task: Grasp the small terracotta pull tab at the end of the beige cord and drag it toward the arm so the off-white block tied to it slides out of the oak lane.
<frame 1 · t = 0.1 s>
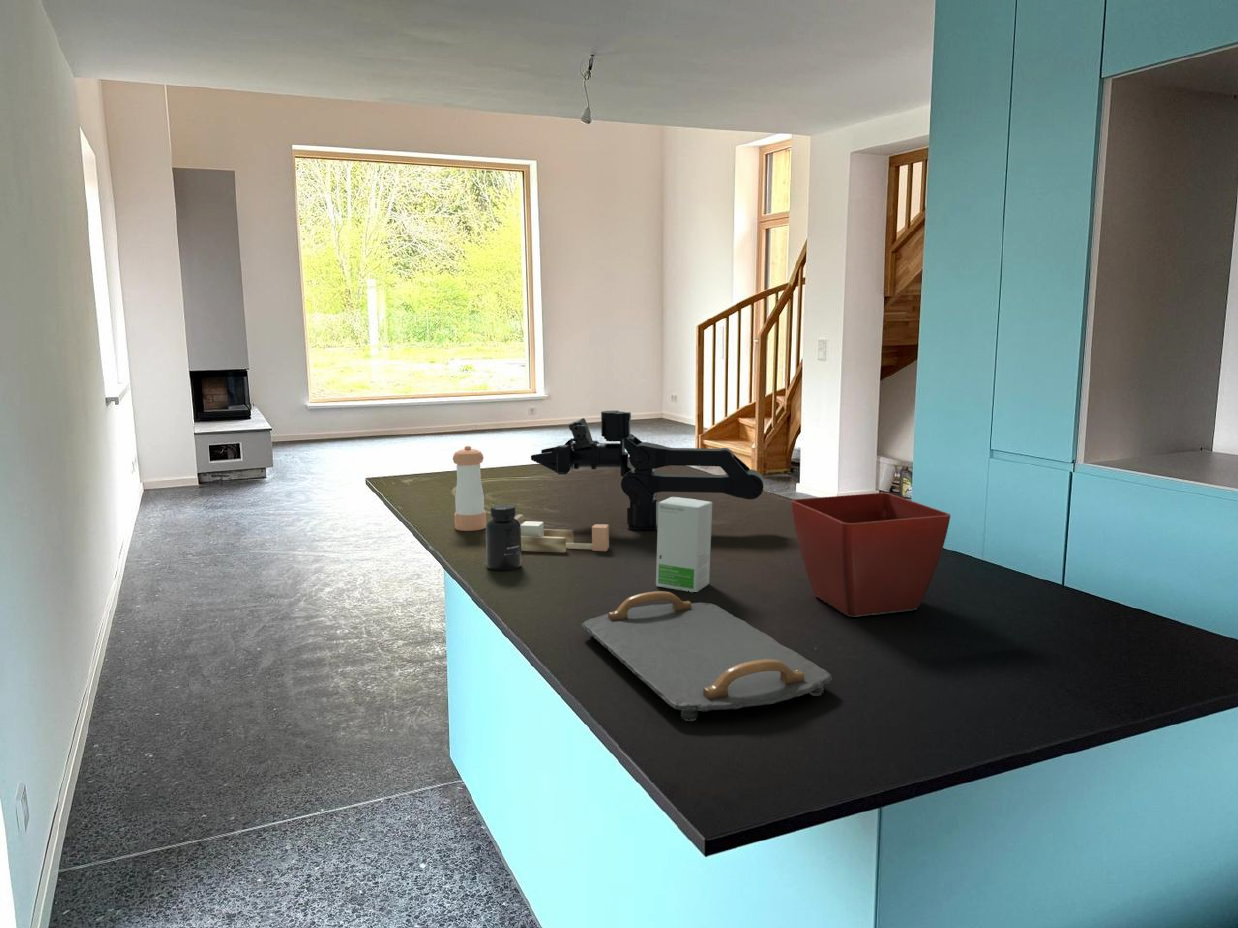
hand: (536, 454, 207), 17 cm above the table, tool horizontal, fingers open, 9 cm apart
supplement bottle: (504, 567, 173), on the table
serving board: (696, 667, 124), on the table
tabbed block: (532, 546, 188), on the table
oak lane: (543, 546, 188), on the table
plant pot: (863, 605, 148), on the table
skincare box: (683, 586, 160), on the table
pepper shaker: (470, 528, 206), on the table
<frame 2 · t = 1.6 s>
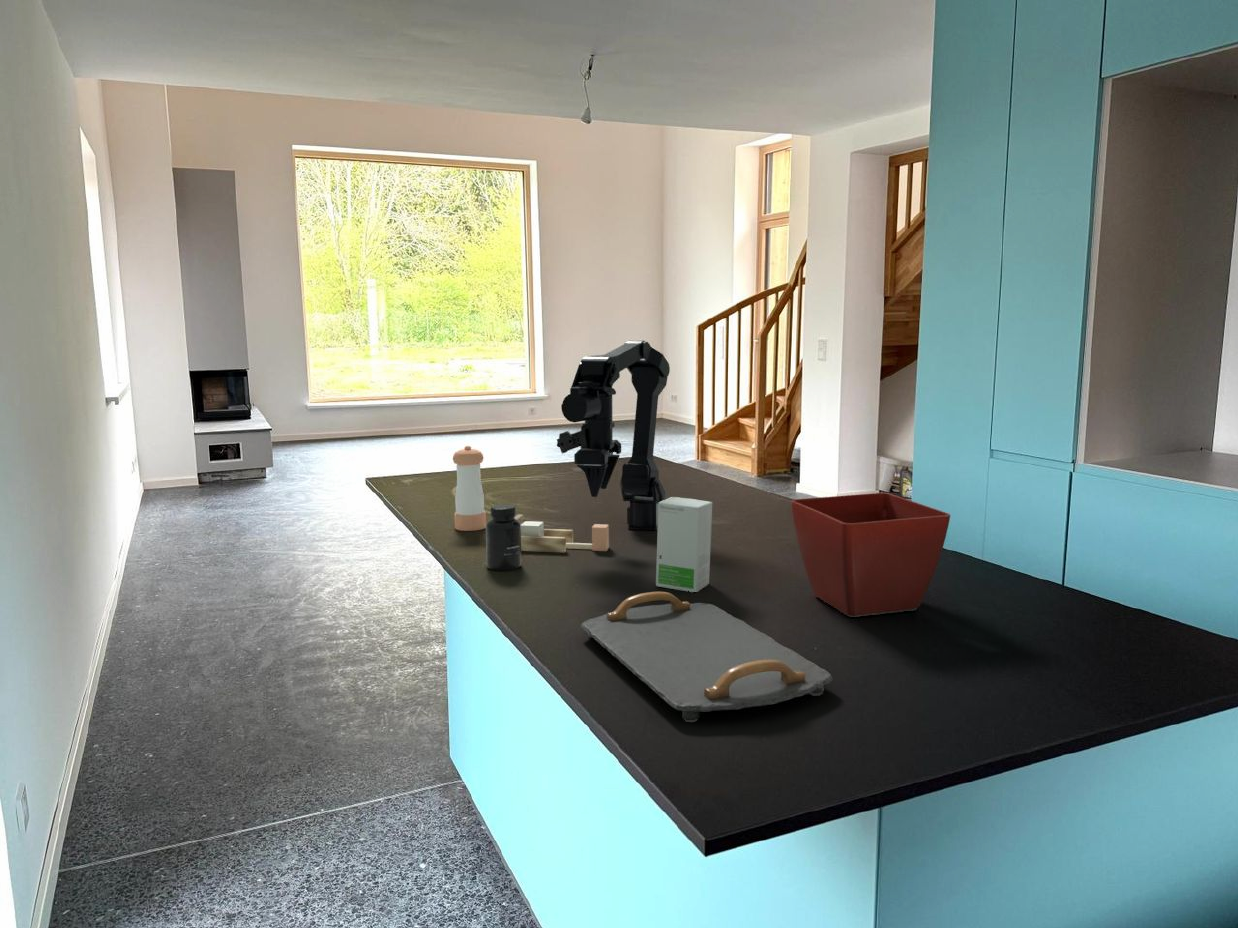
hand: (599, 492, 184), 12 cm above the table, tool pointing down, fingers open, 9 cm apart
nothing on the table moved.
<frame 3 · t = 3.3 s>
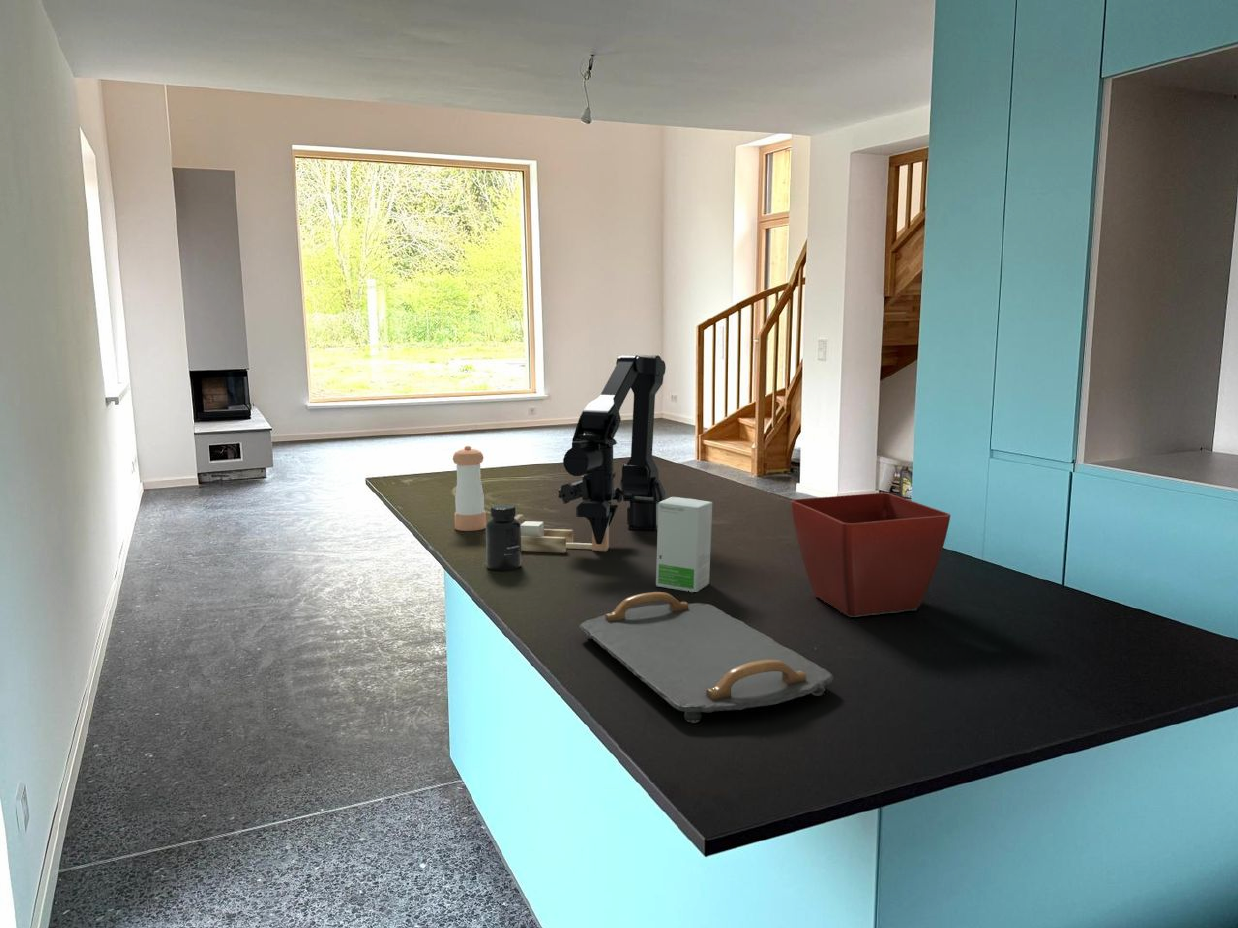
hand: (600, 541, 185), 2 cm above the table, tool pointing down, fingers closed on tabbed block, 3 cm apart
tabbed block: (532, 546, 188), on the table, touching gripper
everything else where it was.
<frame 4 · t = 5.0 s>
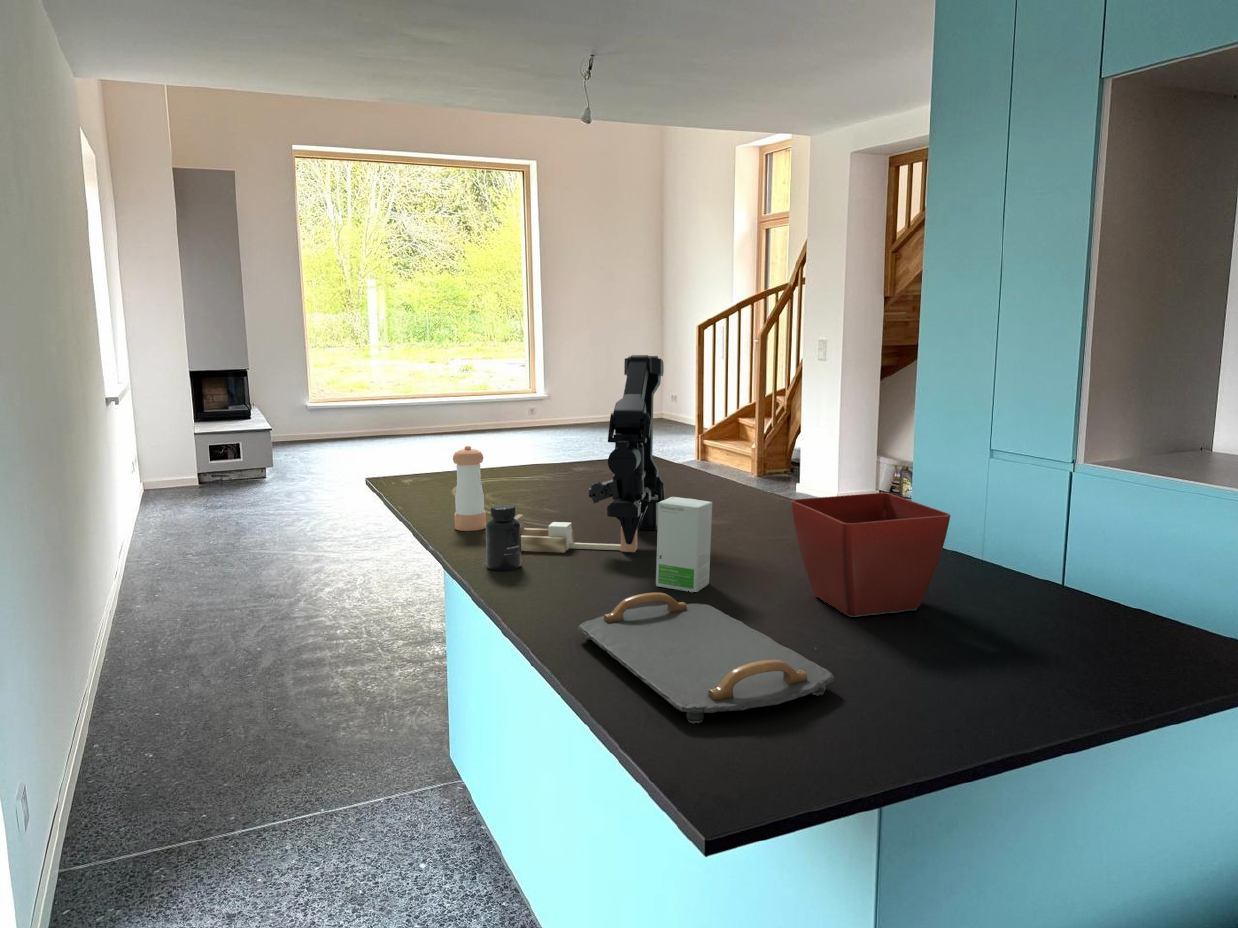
hand: (630, 541, 184), 2 cm above the table, tool pointing down, fingers closed on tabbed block, 3 cm apart
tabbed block: (560, 547, 187), on the table, touching gripper
everything else where it was.
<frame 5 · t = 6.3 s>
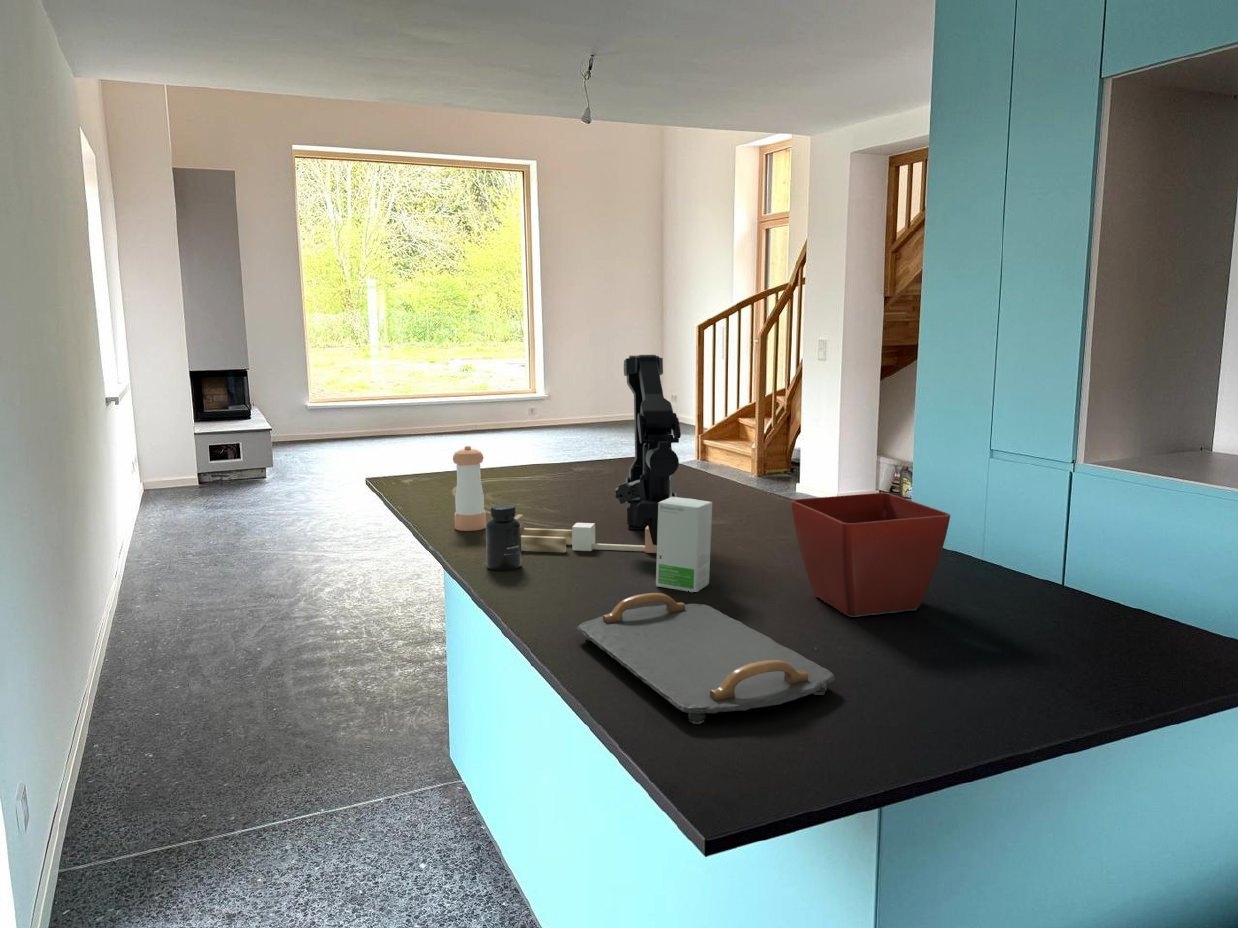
hand: (656, 542, 183), 2 cm above the table, tool pointing down, fingers closed on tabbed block, 3 cm apart
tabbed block: (583, 548, 186), on the table, touching gripper
everything else where it was.
when the fingers open (2 cm above the table, at t = 6.8 s): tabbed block stays where it is, on the table.
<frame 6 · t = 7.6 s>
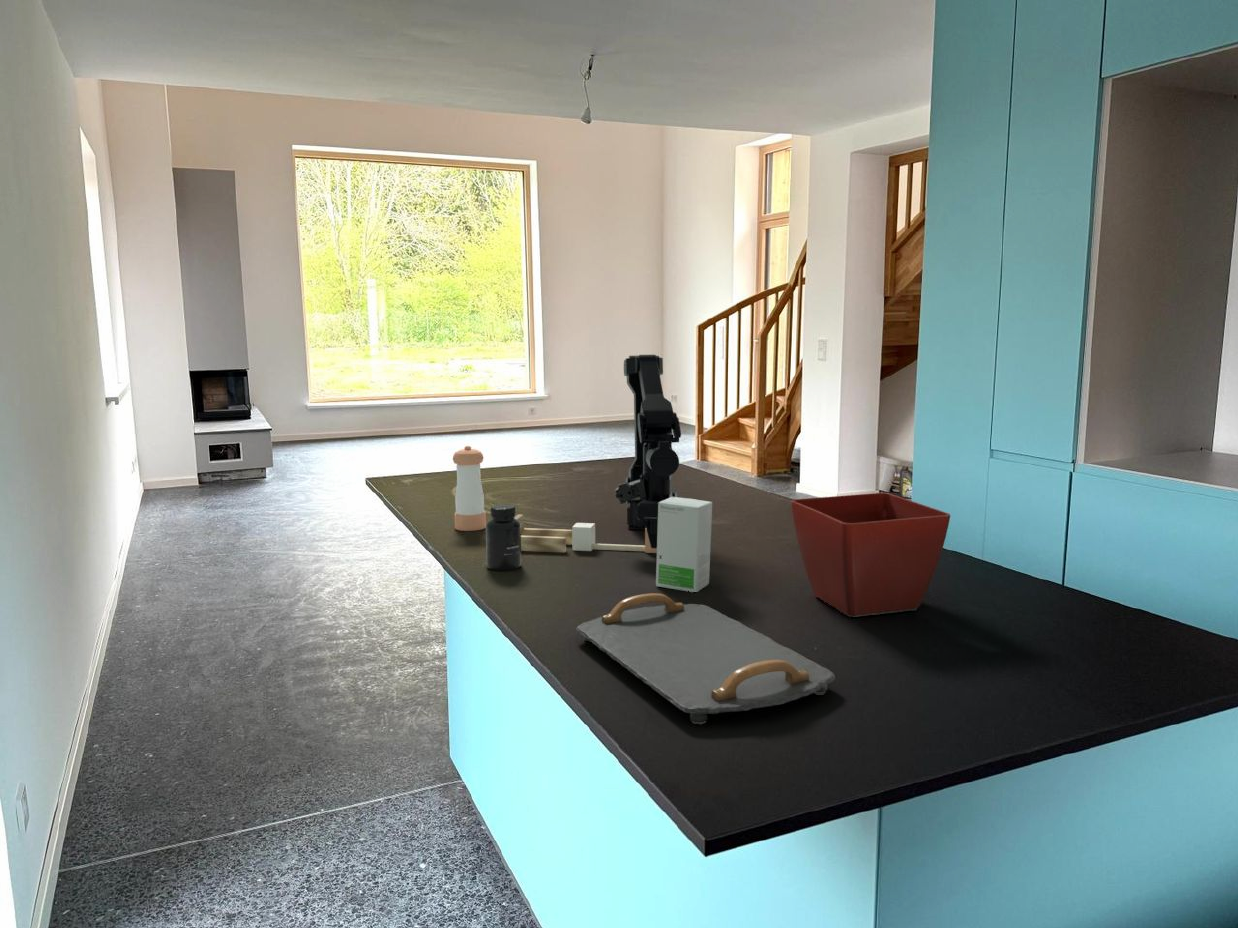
hand: (657, 542, 183), 2 cm above the table, tool pointing down, fingers open, 9 cm apart
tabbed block: (584, 548, 186), on the table
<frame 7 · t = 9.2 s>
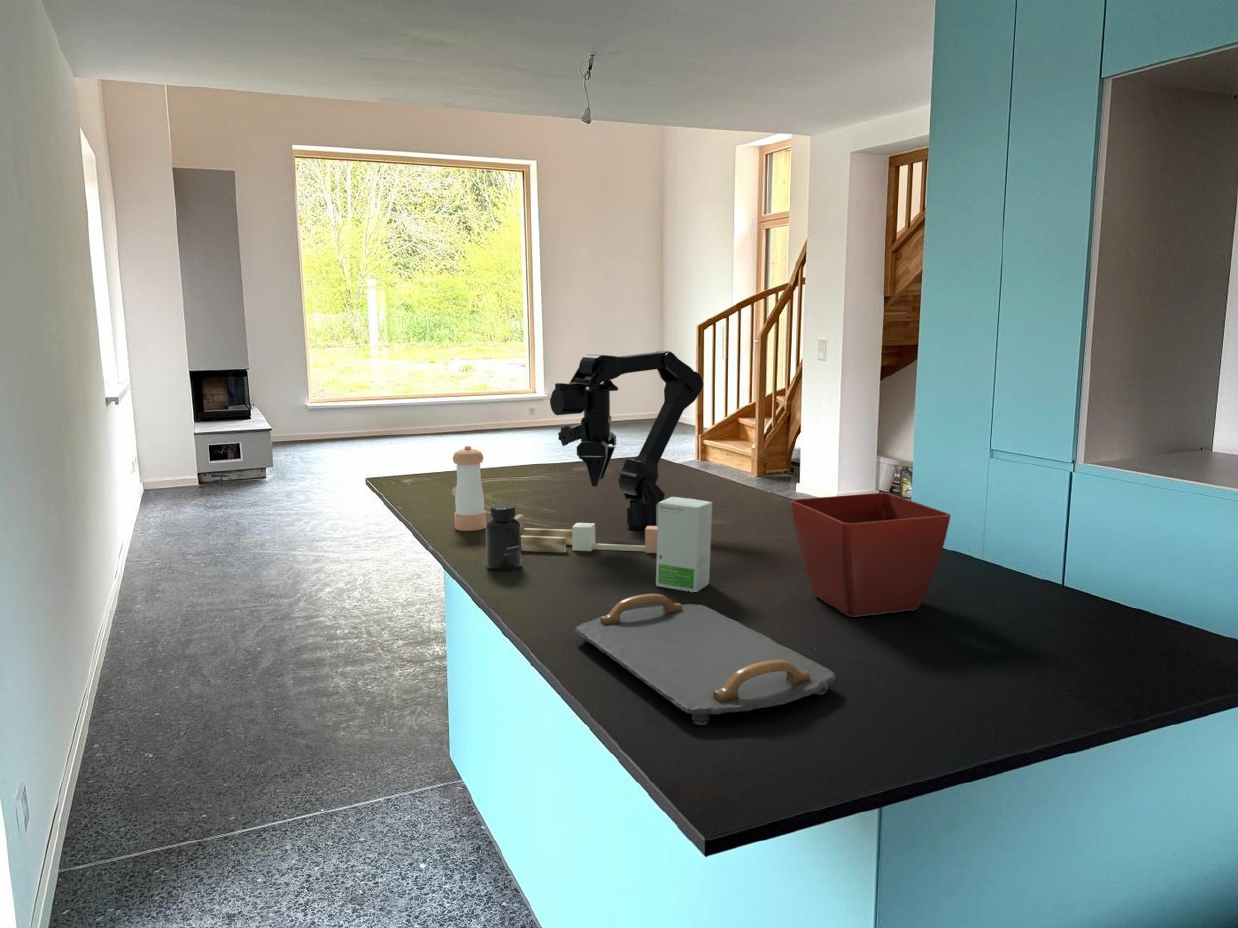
hand: (597, 482, 196), 12 cm above the table, tool pointing down, fingers open, 9 cm apart
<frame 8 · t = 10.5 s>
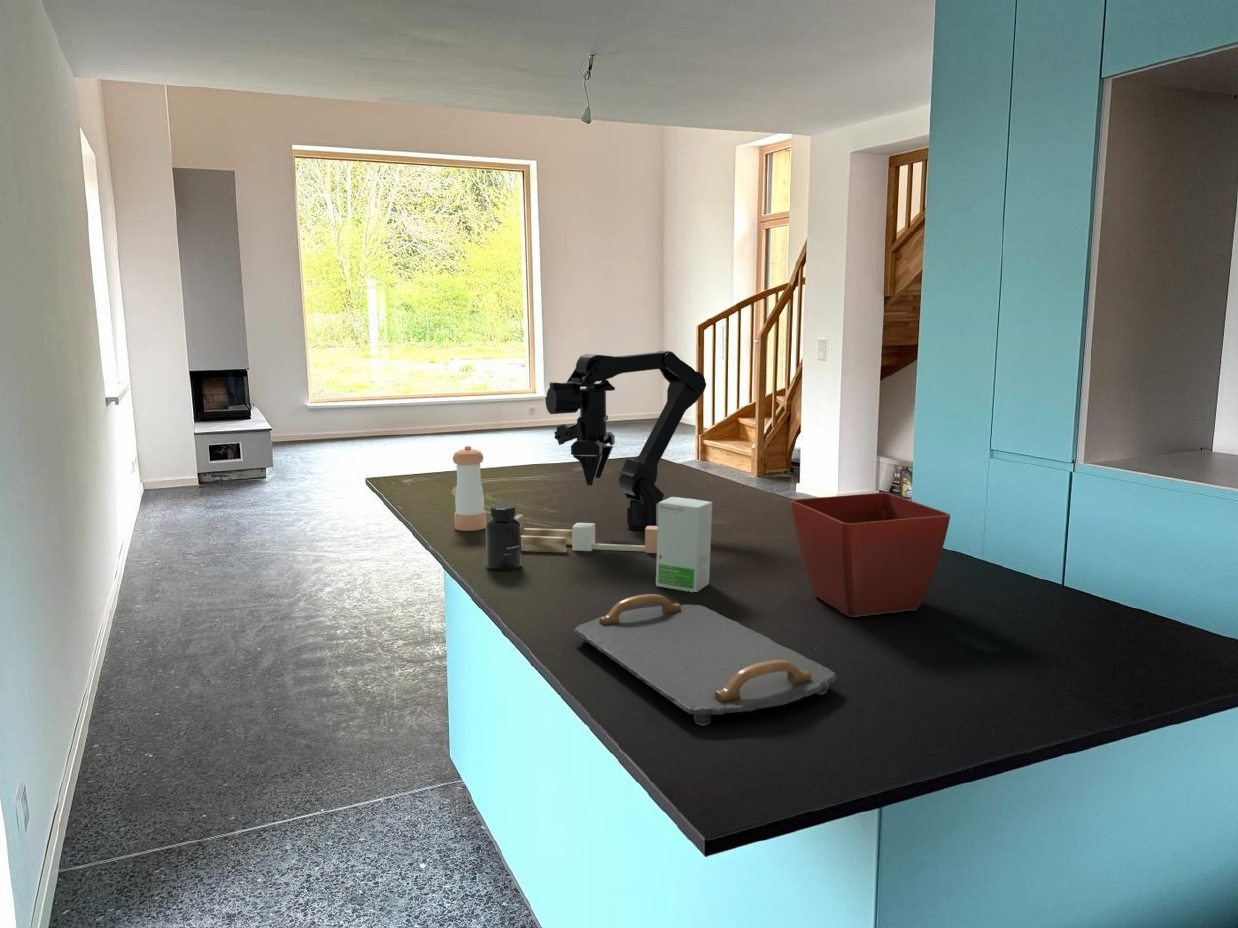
hand: (594, 481, 197), 12 cm above the table, tool pointing down, fingers open, 9 cm apart
at the end: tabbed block inside the target area (3.4 cm from its centre), on the table; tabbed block moved 11.2 cm from its start; the gripper is holding nothing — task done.
